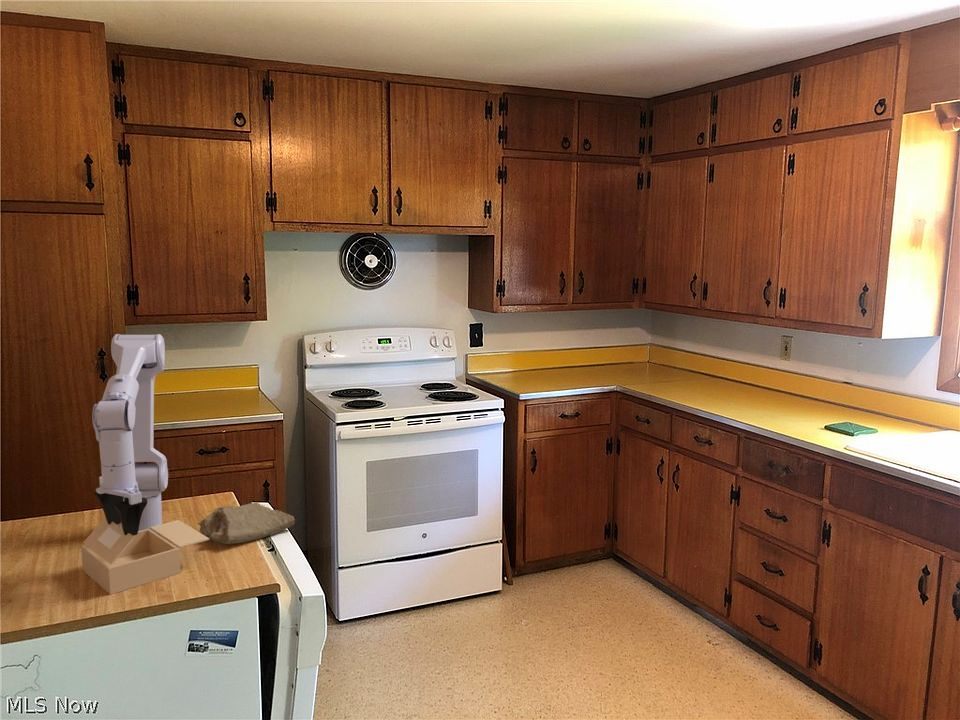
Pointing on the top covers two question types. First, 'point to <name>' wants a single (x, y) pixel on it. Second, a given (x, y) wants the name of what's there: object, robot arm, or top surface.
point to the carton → (142, 557)
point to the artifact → (244, 523)
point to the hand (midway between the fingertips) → (123, 530)
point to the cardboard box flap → (108, 541)
